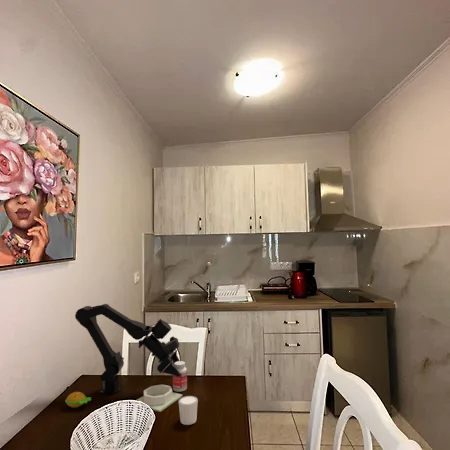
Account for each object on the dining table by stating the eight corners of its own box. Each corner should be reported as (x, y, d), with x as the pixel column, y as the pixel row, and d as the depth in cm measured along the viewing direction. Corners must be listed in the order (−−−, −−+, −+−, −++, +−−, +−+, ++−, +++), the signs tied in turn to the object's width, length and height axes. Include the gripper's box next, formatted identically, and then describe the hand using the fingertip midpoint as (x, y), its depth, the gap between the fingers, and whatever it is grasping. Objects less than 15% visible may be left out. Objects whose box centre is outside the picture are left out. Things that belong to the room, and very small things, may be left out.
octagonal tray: (132, 404, 125) (132, 394, 126) (156, 389, 138) (156, 381, 138) (160, 412, 119) (159, 402, 119) (182, 396, 131) (182, 387, 131)
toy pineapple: (73, 401, 129) (74, 387, 129) (94, 404, 126) (94, 390, 127) (61, 409, 122) (61, 395, 123) (82, 412, 120) (82, 398, 120)
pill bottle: (183, 392, 134) (182, 366, 135) (170, 391, 136) (169, 364, 136) (189, 386, 140) (188, 360, 141) (176, 385, 142) (176, 359, 142)
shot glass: (194, 426, 108) (194, 405, 109) (175, 424, 110) (175, 404, 110) (200, 416, 115) (200, 396, 116) (182, 414, 117) (182, 394, 117)
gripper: (164, 339, 130) (192, 365, 129) (171, 327, 149) (195, 350, 148) (145, 359, 129) (173, 386, 129) (154, 345, 148) (179, 368, 147)
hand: (181, 371), depth 138 cm, fingers open, 9 cm apart
